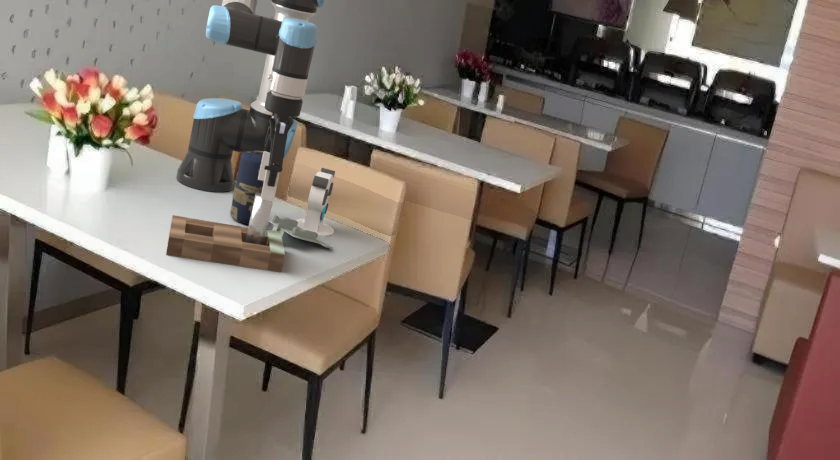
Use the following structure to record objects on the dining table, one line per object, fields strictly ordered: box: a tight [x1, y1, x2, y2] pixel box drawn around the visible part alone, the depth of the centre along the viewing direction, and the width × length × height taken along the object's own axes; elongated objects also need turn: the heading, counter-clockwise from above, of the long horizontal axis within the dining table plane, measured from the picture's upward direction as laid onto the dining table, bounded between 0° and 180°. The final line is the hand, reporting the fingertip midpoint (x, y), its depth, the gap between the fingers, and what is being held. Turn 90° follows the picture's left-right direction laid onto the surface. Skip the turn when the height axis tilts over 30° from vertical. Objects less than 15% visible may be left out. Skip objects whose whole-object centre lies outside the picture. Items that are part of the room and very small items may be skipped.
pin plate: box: [165, 214, 286, 273], centre depth 180 cm, size 14×24×4 cm, turn 104°
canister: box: [229, 151, 277, 225], centre depth 202 cm, size 10×10×18 cm
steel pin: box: [245, 193, 274, 245], centre depth 181 cm, size 4×4×14 cm
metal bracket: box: [268, 214, 333, 250], centre depth 199 cm, size 14×6×15 cm
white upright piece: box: [293, 167, 336, 237], centre depth 210 cm, size 12×11×15 cm
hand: (265, 189), depth 178 cm, fingers open, 13 cm apart
